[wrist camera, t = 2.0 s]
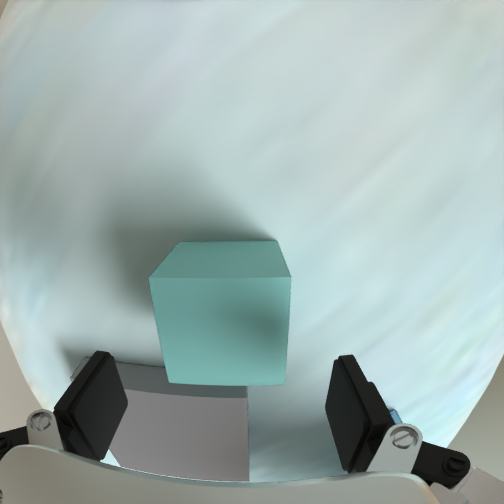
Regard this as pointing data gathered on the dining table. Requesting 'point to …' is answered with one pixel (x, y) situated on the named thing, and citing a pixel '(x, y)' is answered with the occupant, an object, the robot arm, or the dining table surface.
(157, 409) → the gray base
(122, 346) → the dining table surface
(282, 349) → the teal cube
